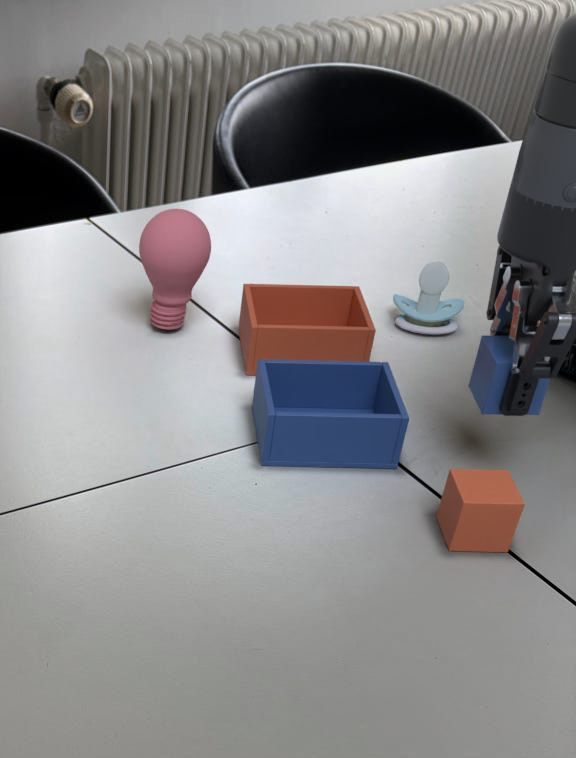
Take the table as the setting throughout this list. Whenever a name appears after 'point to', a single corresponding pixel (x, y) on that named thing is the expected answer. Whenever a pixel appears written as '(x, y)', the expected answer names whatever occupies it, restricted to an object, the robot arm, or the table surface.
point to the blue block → (498, 375)
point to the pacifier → (429, 304)
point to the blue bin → (328, 414)
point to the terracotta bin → (304, 324)
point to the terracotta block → (479, 510)
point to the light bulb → (173, 262)
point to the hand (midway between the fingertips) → (503, 395)
